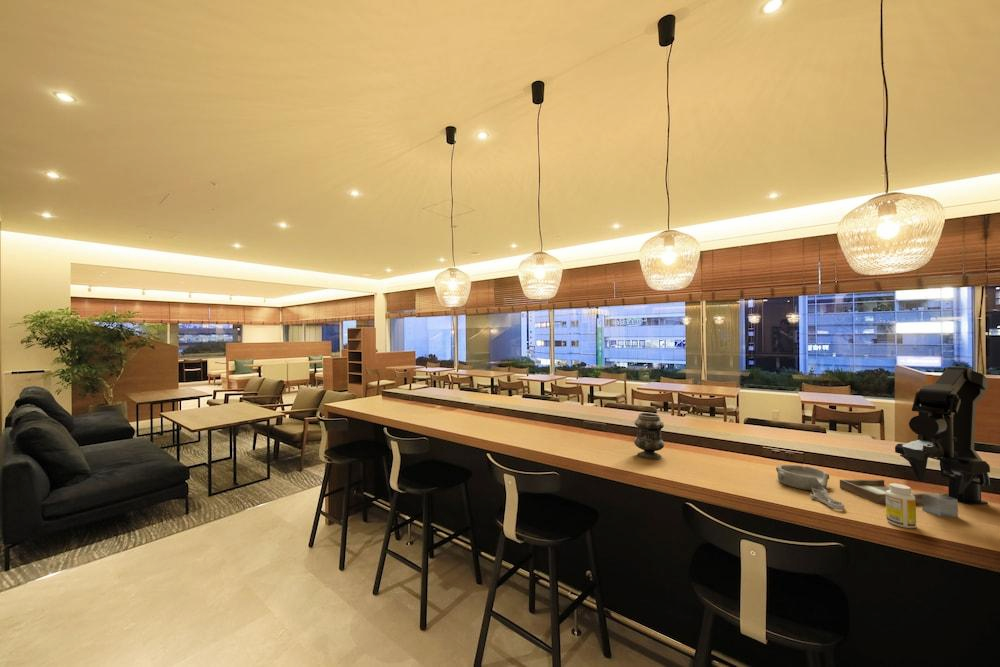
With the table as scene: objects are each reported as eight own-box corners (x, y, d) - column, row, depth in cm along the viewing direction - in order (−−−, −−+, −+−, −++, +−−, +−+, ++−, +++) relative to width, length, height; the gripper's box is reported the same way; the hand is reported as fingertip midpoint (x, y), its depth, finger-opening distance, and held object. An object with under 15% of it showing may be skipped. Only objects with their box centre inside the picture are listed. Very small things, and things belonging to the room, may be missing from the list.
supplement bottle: (912, 523, 102) (912, 485, 102) (919, 531, 97) (918, 491, 97) (883, 517, 105) (883, 480, 105) (888, 525, 100) (888, 486, 101)
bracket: (838, 490, 120) (845, 505, 108) (838, 496, 120) (845, 512, 108) (808, 484, 125) (811, 498, 113) (808, 490, 124) (811, 505, 113)
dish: (830, 484, 129) (829, 470, 129) (826, 496, 119) (826, 480, 119) (778, 474, 139) (778, 460, 140) (771, 483, 130) (771, 469, 130)
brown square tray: (882, 487, 127) (881, 479, 127) (924, 503, 114) (924, 494, 114) (839, 487, 126) (839, 479, 127) (878, 503, 114) (877, 494, 114)
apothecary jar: (669, 457, 160) (669, 414, 161) (654, 462, 153) (654, 418, 153) (644, 450, 170) (644, 410, 170) (628, 455, 162) (628, 413, 163)
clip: (939, 510, 110) (938, 493, 110) (958, 517, 105) (957, 499, 105) (922, 510, 110) (921, 493, 110) (940, 517, 105) (940, 499, 105)
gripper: (877, 425, 117) (878, 475, 117) (949, 441, 99) (951, 501, 98) (911, 425, 117) (913, 475, 117) (991, 440, 99) (992, 500, 98)
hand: (939, 487), depth 108 cm, fingers open, 9 cm apart
